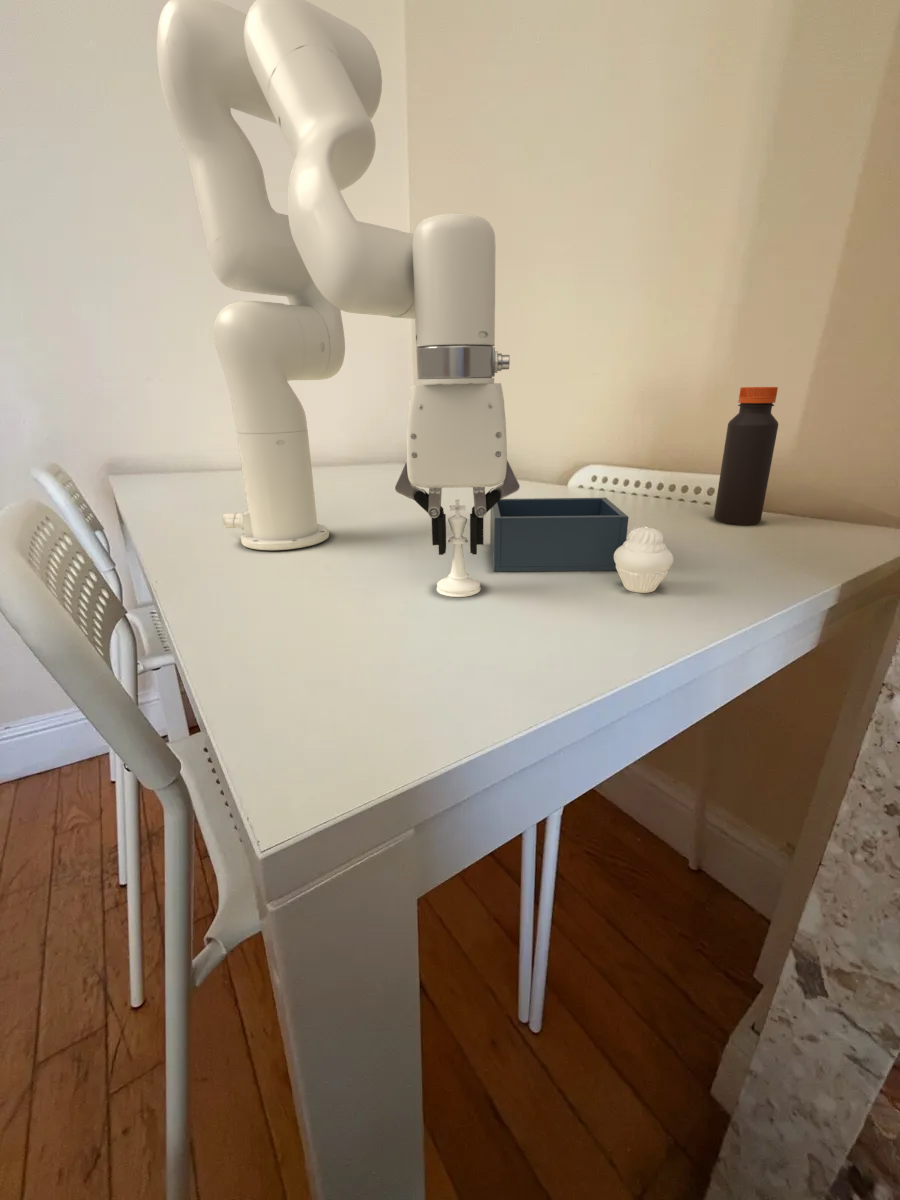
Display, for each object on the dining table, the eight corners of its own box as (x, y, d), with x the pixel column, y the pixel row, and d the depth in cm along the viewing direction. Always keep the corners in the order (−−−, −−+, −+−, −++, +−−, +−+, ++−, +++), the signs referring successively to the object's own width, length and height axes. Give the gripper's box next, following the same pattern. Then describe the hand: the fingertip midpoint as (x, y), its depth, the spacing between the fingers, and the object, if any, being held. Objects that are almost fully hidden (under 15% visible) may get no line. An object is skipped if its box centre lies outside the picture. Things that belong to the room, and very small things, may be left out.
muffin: (668, 601, 59) (676, 535, 56) (607, 594, 61) (613, 530, 59) (670, 582, 64) (678, 521, 62) (614, 576, 66) (619, 517, 64)
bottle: (707, 515, 94) (726, 387, 87) (750, 516, 94) (773, 386, 86) (721, 525, 88) (743, 387, 81) (767, 526, 87) (794, 387, 80)
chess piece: (481, 597, 61) (481, 504, 57) (435, 597, 61) (433, 505, 58) (479, 581, 66) (479, 495, 62) (437, 582, 66) (434, 495, 62)
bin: (493, 571, 69) (494, 518, 67) (490, 545, 80) (490, 498, 77) (623, 570, 68) (628, 516, 66) (602, 544, 79) (606, 497, 77)
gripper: (535, 367, 58) (529, 541, 65) (377, 370, 59) (388, 542, 66) (544, 366, 51) (537, 560, 58) (365, 369, 52) (378, 562, 59)
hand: (458, 549), depth 62 cm, fingers closed
